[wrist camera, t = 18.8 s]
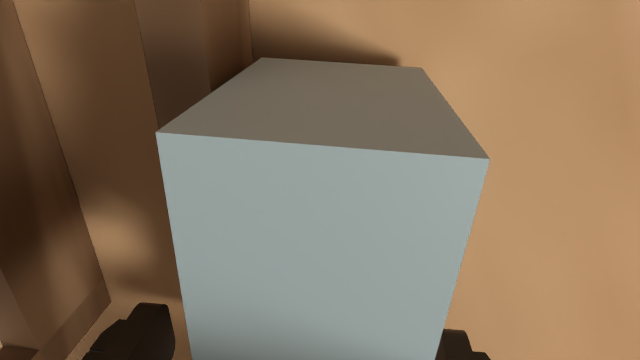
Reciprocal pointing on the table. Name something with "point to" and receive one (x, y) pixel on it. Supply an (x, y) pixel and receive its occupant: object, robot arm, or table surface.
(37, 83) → the rack
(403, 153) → the block
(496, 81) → the table surface
